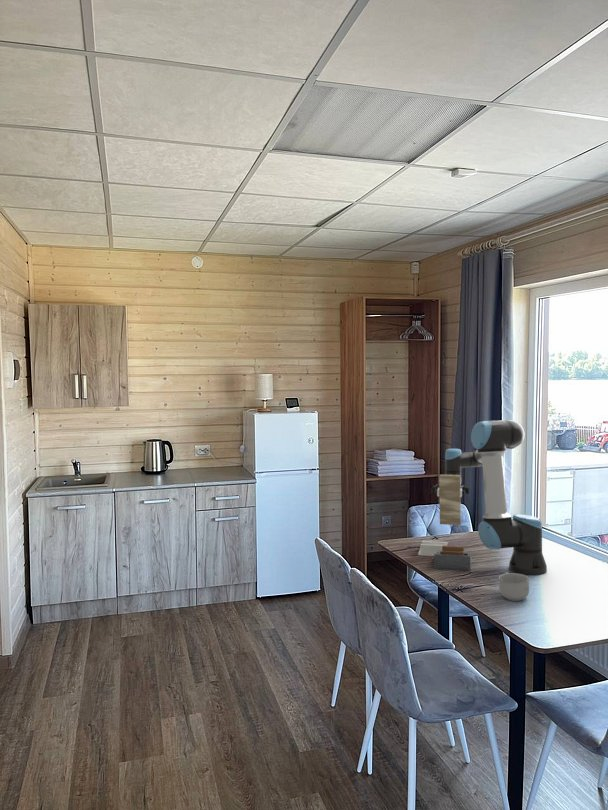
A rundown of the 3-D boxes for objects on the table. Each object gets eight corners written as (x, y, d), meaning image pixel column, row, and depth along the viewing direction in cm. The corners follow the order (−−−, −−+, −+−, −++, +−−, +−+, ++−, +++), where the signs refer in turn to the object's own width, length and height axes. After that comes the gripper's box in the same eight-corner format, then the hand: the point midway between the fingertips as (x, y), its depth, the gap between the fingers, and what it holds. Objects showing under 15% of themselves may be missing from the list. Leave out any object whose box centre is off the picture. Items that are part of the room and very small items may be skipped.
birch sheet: (440, 522, 272) (439, 474, 271) (460, 523, 270) (460, 474, 269) (439, 524, 270) (439, 475, 269) (460, 525, 267) (460, 475, 266)
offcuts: (442, 563, 267) (442, 545, 267) (463, 564, 264) (463, 546, 264) (441, 567, 261) (441, 549, 261) (463, 568, 258) (463, 550, 258)
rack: (437, 561, 274) (436, 545, 274) (471, 563, 270) (471, 547, 270) (434, 571, 260) (434, 554, 260) (470, 574, 256) (470, 556, 255)
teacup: (532, 604, 221) (531, 582, 221) (501, 603, 223) (501, 581, 223) (524, 590, 235) (524, 570, 235) (495, 589, 237) (495, 569, 236)
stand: (420, 552, 290) (420, 539, 289) (450, 553, 285) (450, 541, 285) (418, 558, 280) (417, 545, 280) (448, 560, 276) (448, 547, 276)
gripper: (476, 493, 283) (475, 503, 262) (429, 491, 290) (424, 501, 268) (476, 477, 283) (474, 486, 261) (428, 476, 289) (424, 484, 268)
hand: (449, 493), depth 265 cm, fingers closed on birch sheet, 9 cm apart
